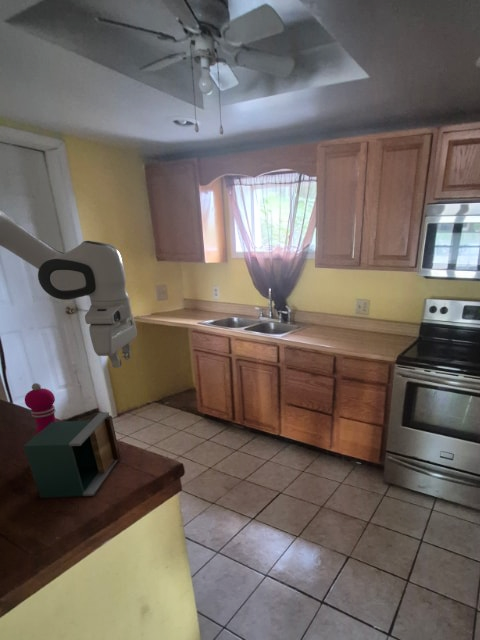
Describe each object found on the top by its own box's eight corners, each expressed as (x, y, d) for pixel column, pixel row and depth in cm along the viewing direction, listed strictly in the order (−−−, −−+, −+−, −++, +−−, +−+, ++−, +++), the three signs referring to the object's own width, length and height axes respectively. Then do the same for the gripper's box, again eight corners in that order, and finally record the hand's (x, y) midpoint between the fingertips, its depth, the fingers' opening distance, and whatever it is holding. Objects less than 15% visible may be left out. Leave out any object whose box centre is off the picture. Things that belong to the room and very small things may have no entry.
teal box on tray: (40, 497, 80) (22, 445, 75) (73, 460, 94) (61, 413, 89) (93, 495, 81) (79, 443, 76) (119, 458, 95) (108, 412, 89)
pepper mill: (68, 445, 100) (48, 376, 92) (76, 455, 96) (56, 383, 88) (36, 455, 96) (13, 383, 88) (43, 466, 91) (20, 391, 83)
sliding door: (98, 473, 87) (88, 430, 83) (110, 457, 94) (101, 416, 89) (109, 472, 87) (99, 430, 83) (120, 456, 94) (111, 416, 89)
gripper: (115, 304, 103) (124, 352, 109) (80, 318, 84) (93, 375, 90) (138, 304, 104) (146, 351, 109) (109, 318, 85) (120, 375, 90)
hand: (122, 362), depth 99 cm, fingers open, 5 cm apart
